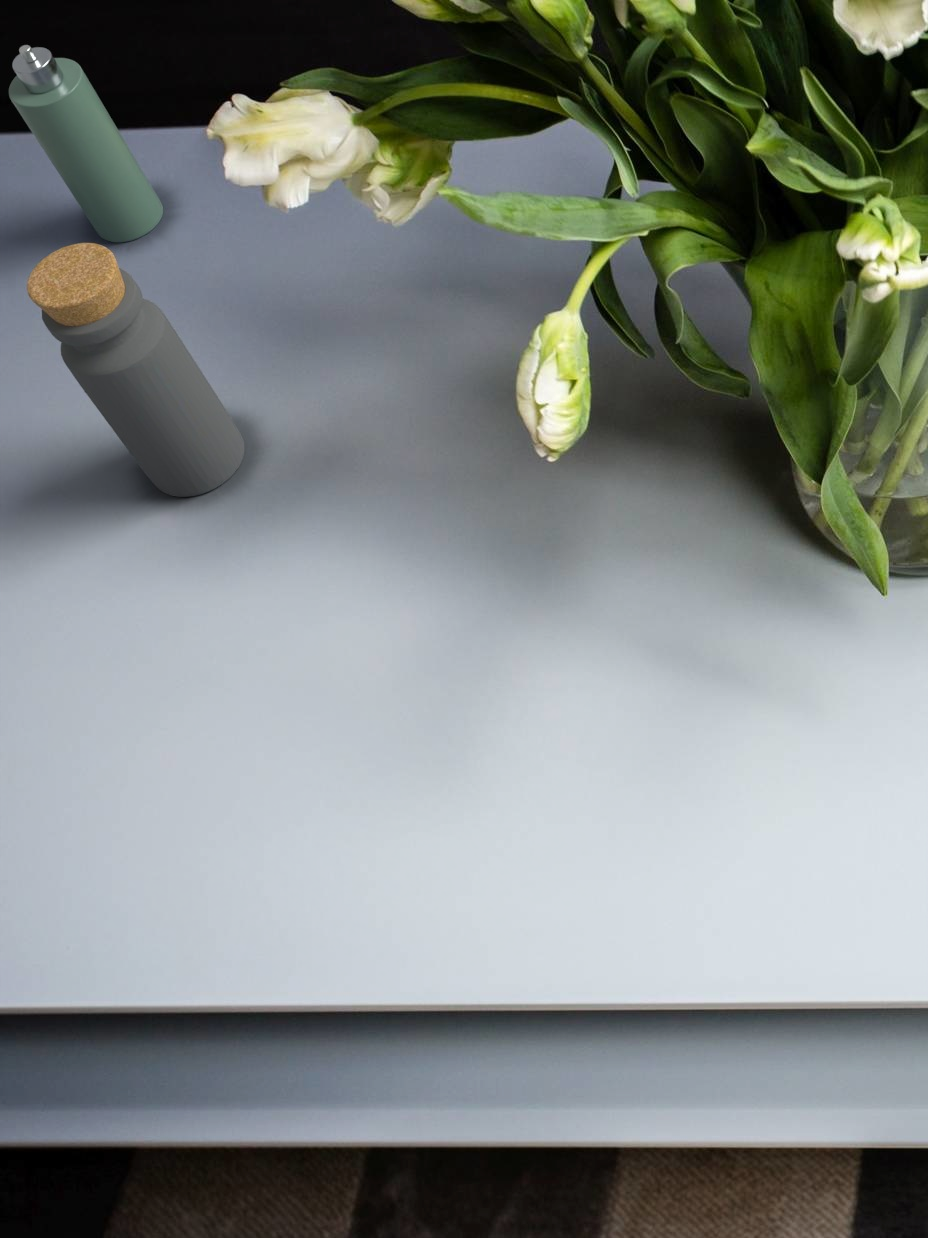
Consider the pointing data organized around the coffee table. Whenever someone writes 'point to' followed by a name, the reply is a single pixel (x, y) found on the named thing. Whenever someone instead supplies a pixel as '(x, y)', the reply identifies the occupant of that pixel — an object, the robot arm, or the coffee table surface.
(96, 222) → the spray can
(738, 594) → the coffee table surface
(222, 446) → the bottle
